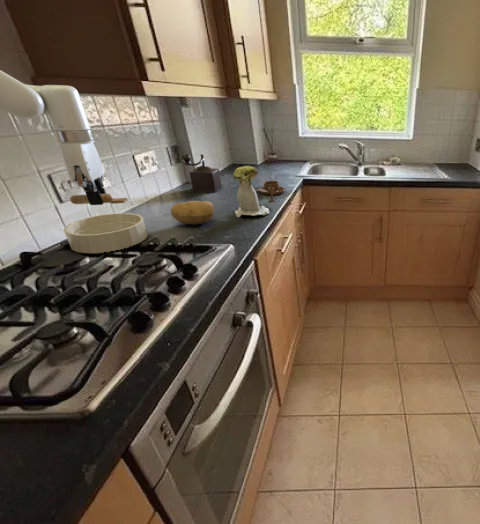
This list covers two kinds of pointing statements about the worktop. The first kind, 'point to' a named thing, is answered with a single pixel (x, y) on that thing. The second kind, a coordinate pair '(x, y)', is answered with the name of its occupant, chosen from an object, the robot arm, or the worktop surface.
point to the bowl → (106, 232)
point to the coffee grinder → (203, 176)
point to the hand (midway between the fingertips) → (99, 202)
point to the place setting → (272, 189)
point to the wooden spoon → (105, 197)
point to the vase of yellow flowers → (248, 192)
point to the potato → (193, 212)
